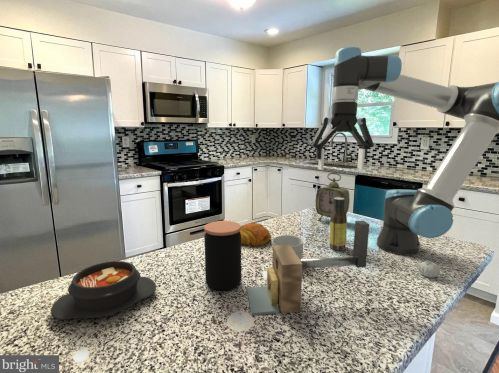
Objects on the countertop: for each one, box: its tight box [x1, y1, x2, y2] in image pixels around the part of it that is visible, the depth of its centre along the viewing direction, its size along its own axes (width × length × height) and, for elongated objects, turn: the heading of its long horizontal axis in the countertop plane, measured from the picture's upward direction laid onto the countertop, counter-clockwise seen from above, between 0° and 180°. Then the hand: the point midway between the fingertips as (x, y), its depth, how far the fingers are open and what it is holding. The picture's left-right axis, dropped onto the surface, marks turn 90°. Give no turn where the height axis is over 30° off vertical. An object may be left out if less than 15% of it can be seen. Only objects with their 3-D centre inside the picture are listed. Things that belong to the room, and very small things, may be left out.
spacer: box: [266, 267, 278, 306], centre depth 78 cm, size 2×7×7 cm, turn 7°
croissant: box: [240, 222, 272, 247], centre depth 120 cm, size 14×16×8 cm
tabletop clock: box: [315, 172, 350, 221], centre depth 143 cm, size 14×9×25 cm, turn 50°
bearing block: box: [271, 245, 303, 314], centre depth 78 cm, size 5×12×13 cm, turn 7°
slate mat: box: [246, 285, 280, 316], centre depth 78 cm, size 7×12×1 cm, turn 7°
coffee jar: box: [203, 220, 242, 293], centre depth 85 cm, size 11×11×18 cm
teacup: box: [271, 233, 304, 259], centre depth 102 cm, size 14×11×8 cm
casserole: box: [50, 260, 157, 321], centre depth 77 cm, size 25×19×8 cm
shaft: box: [300, 220, 370, 270], centre depth 77 cm, size 20×3×12 cm, turn 97°
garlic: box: [417, 260, 441, 278], centre depth 91 cm, size 6×5×5 cm
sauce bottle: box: [329, 197, 348, 251], centre depth 111 cm, size 6×6×20 cm
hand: (340, 169), depth 95 cm, fingers open, 13 cm apart
